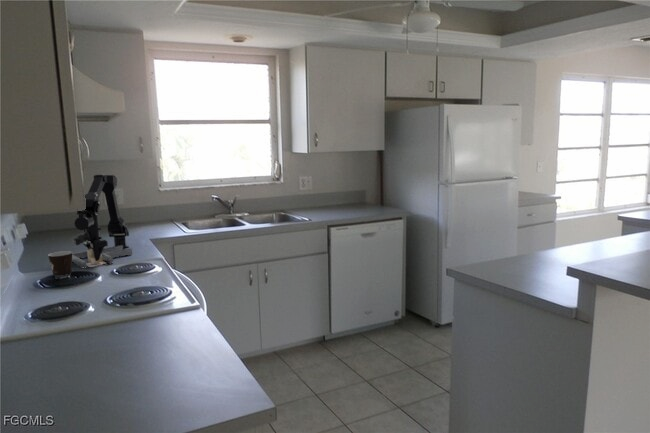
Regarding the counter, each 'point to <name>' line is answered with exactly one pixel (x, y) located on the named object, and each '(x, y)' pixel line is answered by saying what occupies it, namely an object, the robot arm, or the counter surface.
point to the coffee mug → (61, 262)
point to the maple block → (91, 257)
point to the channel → (106, 255)
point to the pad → (96, 263)
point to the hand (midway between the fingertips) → (95, 259)
